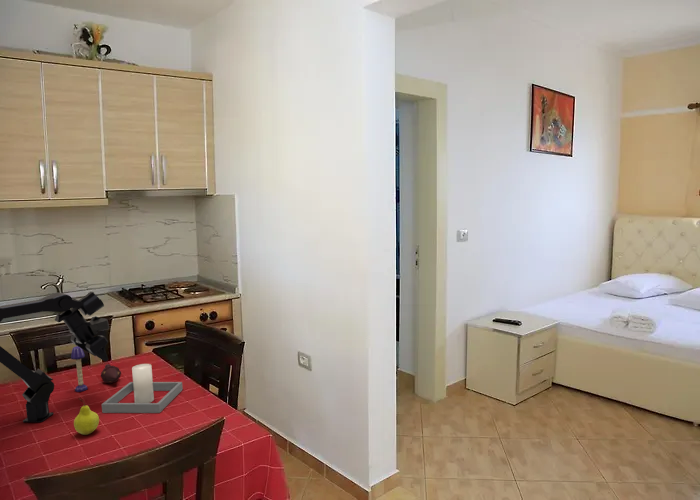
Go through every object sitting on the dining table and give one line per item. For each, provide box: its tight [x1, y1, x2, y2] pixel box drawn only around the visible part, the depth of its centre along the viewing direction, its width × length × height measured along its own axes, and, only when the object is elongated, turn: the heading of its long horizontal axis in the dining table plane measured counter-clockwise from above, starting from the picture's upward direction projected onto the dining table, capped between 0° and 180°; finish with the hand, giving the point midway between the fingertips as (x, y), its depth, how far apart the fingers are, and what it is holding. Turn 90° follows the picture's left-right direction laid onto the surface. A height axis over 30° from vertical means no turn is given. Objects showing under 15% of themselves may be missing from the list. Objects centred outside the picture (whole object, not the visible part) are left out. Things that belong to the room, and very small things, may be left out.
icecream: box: [100, 363, 122, 385], centre depth 204 cm, size 7×7×15 cm
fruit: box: [73, 397, 100, 436], centre depth 161 cm, size 7×7×12 cm
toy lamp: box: [70, 345, 88, 393], centre depth 196 cm, size 5×5×17 cm
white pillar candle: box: [131, 363, 155, 403], centre depth 185 cm, size 6×6×12 cm
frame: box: [101, 381, 184, 414], centre depth 185 cm, size 20×20×3 cm
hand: (101, 357), depth 187 cm, fingers open, 9 cm apart
